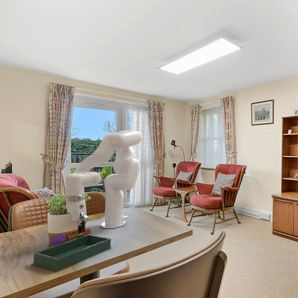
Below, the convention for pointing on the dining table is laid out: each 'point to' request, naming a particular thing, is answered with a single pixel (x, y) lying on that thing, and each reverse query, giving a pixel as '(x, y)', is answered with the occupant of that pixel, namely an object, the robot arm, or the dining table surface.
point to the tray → (71, 252)
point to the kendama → (65, 237)
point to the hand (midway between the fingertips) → (74, 231)
